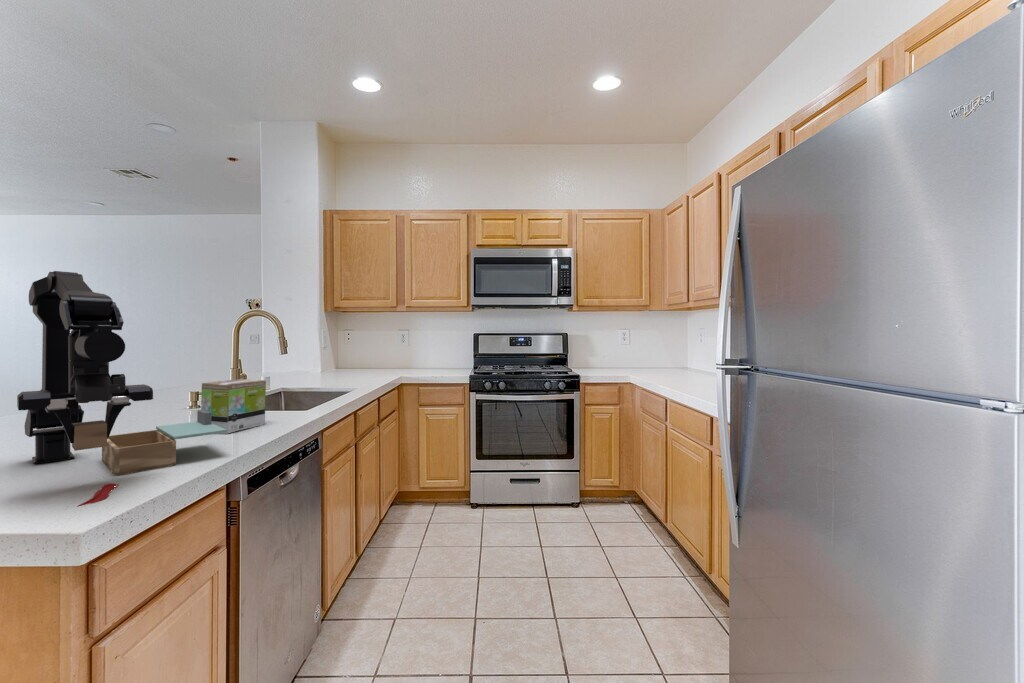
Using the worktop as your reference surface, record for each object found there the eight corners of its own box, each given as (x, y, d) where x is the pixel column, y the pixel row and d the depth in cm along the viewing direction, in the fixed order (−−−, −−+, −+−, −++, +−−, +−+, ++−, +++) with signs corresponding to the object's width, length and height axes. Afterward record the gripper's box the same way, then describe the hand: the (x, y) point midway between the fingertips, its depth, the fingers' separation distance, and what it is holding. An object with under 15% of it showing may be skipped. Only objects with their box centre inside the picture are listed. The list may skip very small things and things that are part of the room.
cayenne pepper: (86, 510, 77) (86, 498, 77) (58, 510, 77) (58, 498, 77) (140, 486, 89) (140, 476, 89) (115, 486, 89) (115, 476, 89)
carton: (101, 460, 104) (101, 436, 104) (158, 451, 112) (158, 429, 112) (115, 475, 94) (114, 449, 94) (176, 465, 102) (176, 440, 102)
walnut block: (72, 446, 88) (71, 423, 87) (103, 442, 91) (103, 420, 91) (74, 450, 85) (74, 426, 84) (107, 446, 88) (106, 423, 88)
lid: (156, 428, 112) (156, 414, 112) (205, 422, 120) (205, 409, 120) (173, 439, 101) (173, 423, 101) (226, 432, 109) (226, 417, 109)
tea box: (228, 434, 132) (228, 383, 132) (199, 432, 134) (199, 382, 134) (266, 424, 147) (266, 378, 146) (239, 423, 149) (239, 377, 148)
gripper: (19, 364, 75) (20, 458, 75) (159, 360, 89) (159, 439, 90) (16, 361, 82) (17, 446, 83) (146, 357, 97) (146, 431, 97)
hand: (89, 440), depth 88 cm, fingers closed on walnut block, 4 cm apart
